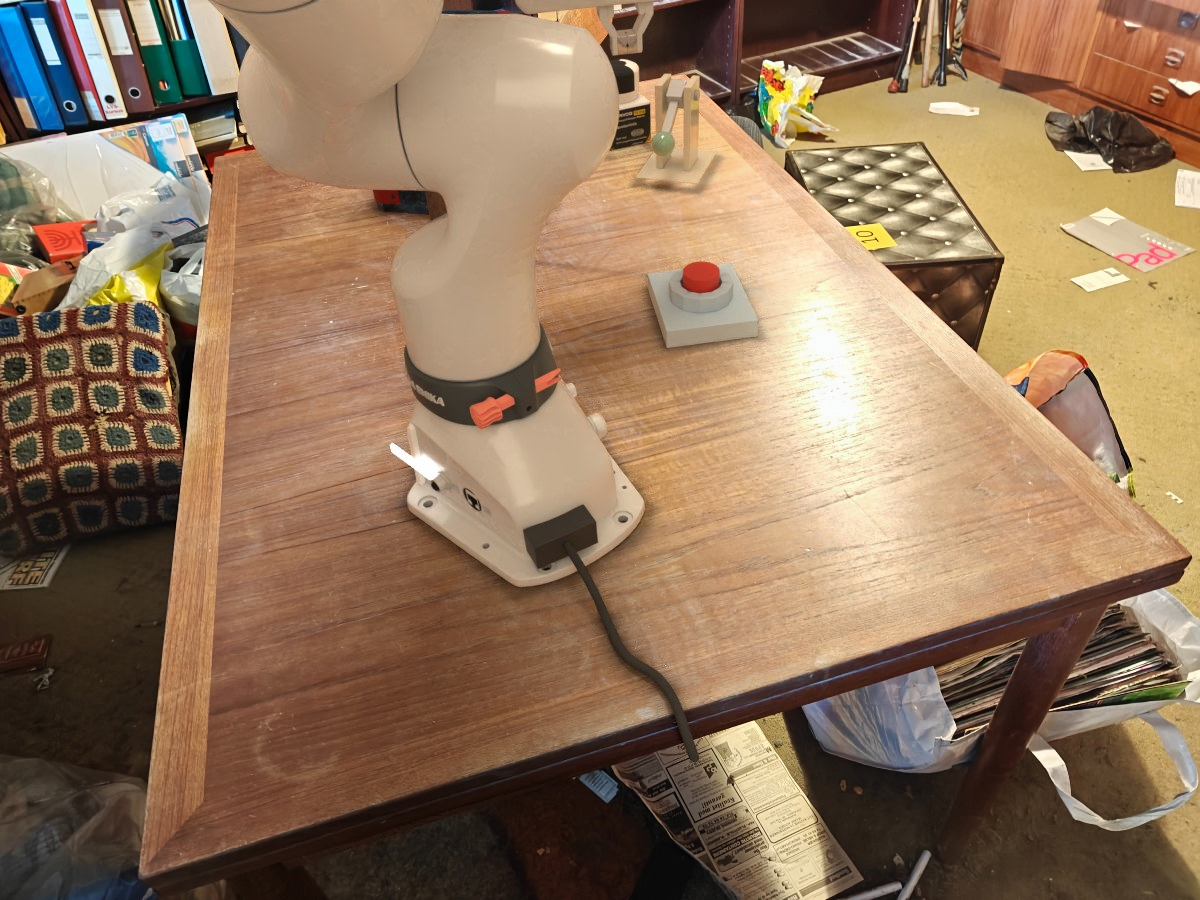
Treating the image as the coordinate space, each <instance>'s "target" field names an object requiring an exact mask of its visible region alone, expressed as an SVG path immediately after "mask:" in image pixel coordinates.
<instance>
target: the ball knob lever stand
mask: <svg viewBox="0 0 1200 900" xmlns="http://www.w3.org/2000/svg"><path fill="white" fill-rule="evenodd" d="M700 77H701V76H700V75H692V76H691V77H690V78H689V80H687V84H686V85H685V86H684V109H683V138H682V139H683V144H682V145H683V146H676V145H675V147H674V150H673V152H672V153H671V154H670V155H668V156H665V157H660V156H658V155H656V154H655V153H654V152H653V151H652V154H651V155H650V156H649V157H648V159H647V161H646V162H645V163H644V165H643V166H642V167H641V169H640V170H639V172H638V173H637V175H636V176H635V179H644V180H655V181H664V182H673V183H681V184H693V185H698V184H699V183H700V181H701V179H702V178H703V176H704V174H705V172H706V171H707V169H708V168H709V166H710V164H711V163H712V161H713V159H714V158H715V156H716V154H717V152H718V150H717V149H708V148H699V127H700V124H699V123H700V97H701V91H700V79H701V78H700ZM671 79H672V73H663V75H661V77H660V78H659V79H658V80H657V82H656V83H655V84H654V110H655V111H654V113H655V114H654V115H655V116H654V117H655V134H657V133H658V132H661V131H662V128H663V124H664V121H665V117H666V114H667V110H668V103H667V98H666V94H667V91H668V87H669V84H670V80H671Z"/></svg>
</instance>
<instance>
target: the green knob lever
mask: <svg viewBox="0 0 1200 900" xmlns="http://www.w3.org/2000/svg"><path fill="white" fill-rule="evenodd" d="M687 82H688V80H686V79H676V78H671V80H670V84H669V87H668V91H667V94H666V98H667V103H668V110H667V114H666V117H665V121H664V124H663V128H662V131H661V132H658V133H657V134H656V133H655V134H654V135H653V137H651V142H650V147H651V150H652V153H653V152H654V153H655V154H656V155H658V156H660V157H665V156H668V155H670V154H671V153H672V152H673V150H674V147H675V146H676V140H675V138H674V136H673V135H672V132H673V130H674V129H673V128H674V125H675V121H676V118H677V115H678V112H679V109H680V110H684V86H685V85H686V84H687Z"/></svg>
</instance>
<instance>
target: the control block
mask: <svg viewBox="0 0 1200 900" xmlns="http://www.w3.org/2000/svg"><path fill="white" fill-rule="evenodd" d="M715 265H716V266H717V267H718V268H719V270H720V277H719V287H718V288H717V289H716V290H714V291H712V292H707V293H694V292H689V291H688V290H686V289H684V287H683V269H684V267H683V268H679V269H672V270H665V271H655V272H648V273H647V275H646V276H647V291H648V294H649V298H650V300H651V304H652V306H653V307H652V308H653V310H654V313H655V315H656V318H657V322H658V325H659V328H660V332H661V335H662V337H663V340H664V341H663V342H664V344H665V347H666V348H668V349H669V348H678V347H684V346H685V347H686V346H693V345H700V344H709V343H717V342H724V341H732V340H739V339H748V338H754V337H756V338H757V337H758V332H759V320H760V319H759V317H758V316H757V313H756V312H755V309H754V307H753V305H752V303H751V301H750V299H749V297H748V294H747V293H746V290H745V288H744V285H743V284H742V282H741V280H740V278H739V276H738V274H737V272H736V269H735V268H734V265H733V263H732V262H730V263H728V262H727V263H721V264H715Z"/></svg>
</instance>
